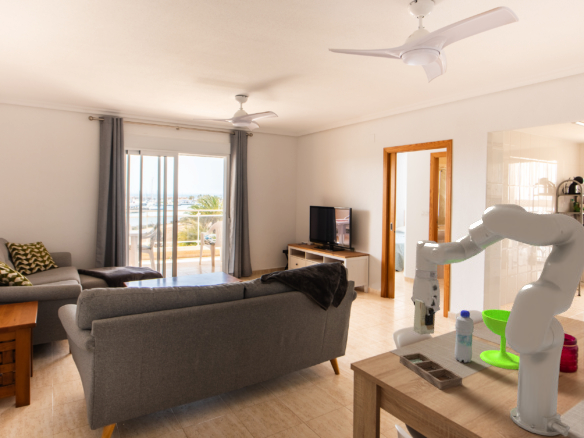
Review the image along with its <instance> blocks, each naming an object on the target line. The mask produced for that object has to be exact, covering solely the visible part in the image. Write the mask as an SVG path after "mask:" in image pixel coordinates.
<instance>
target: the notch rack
mask: <svg viewBox="0 0 584 438" xmlns="http://www.w3.org/2000/svg"><path fill="white" fill-rule="evenodd" d="M415 359H420V360H422V362H417V363H412V362H411V361H409V360H415ZM399 363H400V364H402V365H403V366H405V367H406V368H408V369H409V370H410V371H412V372H414V373H415V374H417V375H418V376H419V377H421V378H422V379H424V380H425V381H427V382H428V383H430V384H431V385H433V386H434V387H436V388H438V390H444V389H448V388H453V387H458V386H463V377H462V376H460V375H459V374H456V373H455V372H453V370H451V369H448V368H446V367H445V366H444V365H441V364H440V363H438V362H436V361H435V360H433V359H431V358H430V357H428V356H427V355H425V354H423V353H422V352H420V351H419V352H414V353H408V354H402V355H399ZM430 368H432V370H428V371H426V370H424V369H430ZM435 369H436V370H435ZM441 377H447V378H448V377H449V378H448V379H442V380H440V379H438V378H441ZM450 378H451V379H450Z"/></svg>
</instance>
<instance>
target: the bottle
mask: <svg viewBox="0 0 584 438" xmlns="http://www.w3.org/2000/svg"><path fill="white" fill-rule="evenodd" d="M454 329H455V344H454V345H455V346H454V358H455V359H456V361H458V362H460V363H462V361H463V363H465V364H467V363H470V362H471V361H472V358H473V333H474V329H475V327H474V319H473V318H472V317H471V312H470V311H469V310H467V309H466V310H465V309H463V310H460V316H457V317H456V319H455V324H454Z"/></svg>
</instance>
